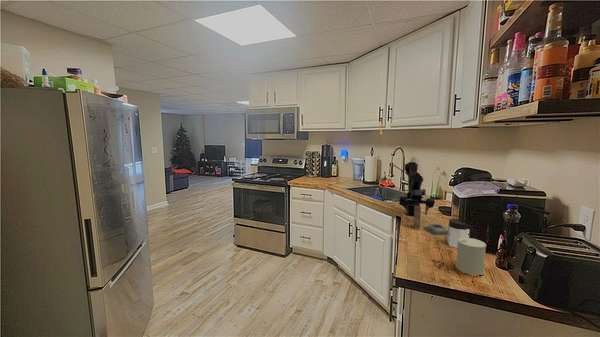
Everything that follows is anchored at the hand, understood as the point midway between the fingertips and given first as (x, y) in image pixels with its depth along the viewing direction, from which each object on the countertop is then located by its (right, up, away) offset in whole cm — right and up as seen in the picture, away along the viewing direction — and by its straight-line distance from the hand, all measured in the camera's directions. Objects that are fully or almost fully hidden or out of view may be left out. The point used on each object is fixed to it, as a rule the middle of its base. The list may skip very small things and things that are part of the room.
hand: (417, 214), depth 142 cm
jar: (+9, -11, -23) cm, 27 cm away
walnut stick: (0, -8, 0) cm, 8 cm away
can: (-1, -14, -45) cm, 47 cm away
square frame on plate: (+9, -9, -4) cm, 13 cm away
